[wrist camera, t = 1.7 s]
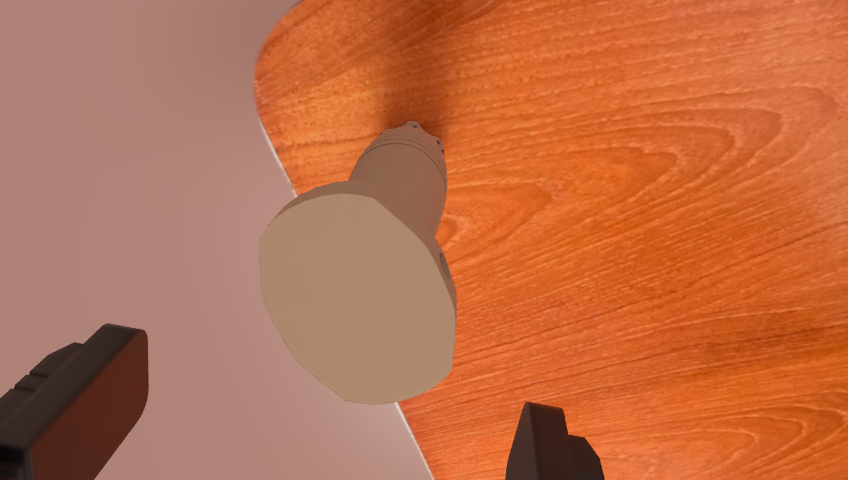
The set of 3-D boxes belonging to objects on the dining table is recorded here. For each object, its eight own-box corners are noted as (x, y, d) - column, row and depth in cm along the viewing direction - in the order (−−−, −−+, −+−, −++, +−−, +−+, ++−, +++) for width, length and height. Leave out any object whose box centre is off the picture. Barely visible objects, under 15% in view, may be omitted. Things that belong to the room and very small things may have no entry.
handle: (432, 70, 29) (395, 167, 15) (480, 194, 31) (485, 377, 17) (338, 108, 30) (222, 231, 16) (391, 225, 32) (328, 421, 18)
